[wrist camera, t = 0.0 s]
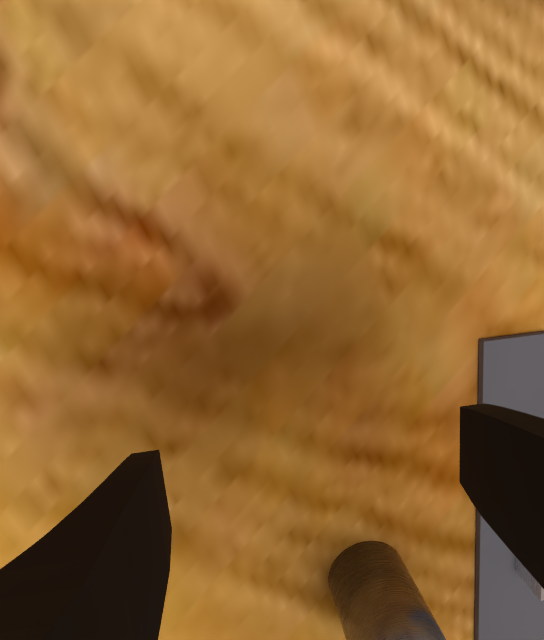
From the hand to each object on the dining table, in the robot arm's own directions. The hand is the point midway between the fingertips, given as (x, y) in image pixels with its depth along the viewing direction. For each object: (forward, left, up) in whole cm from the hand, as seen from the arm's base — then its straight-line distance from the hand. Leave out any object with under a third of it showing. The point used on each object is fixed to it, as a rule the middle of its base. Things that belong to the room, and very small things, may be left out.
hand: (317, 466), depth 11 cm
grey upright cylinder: (-13, -4, -10) cm, 17 cm away
